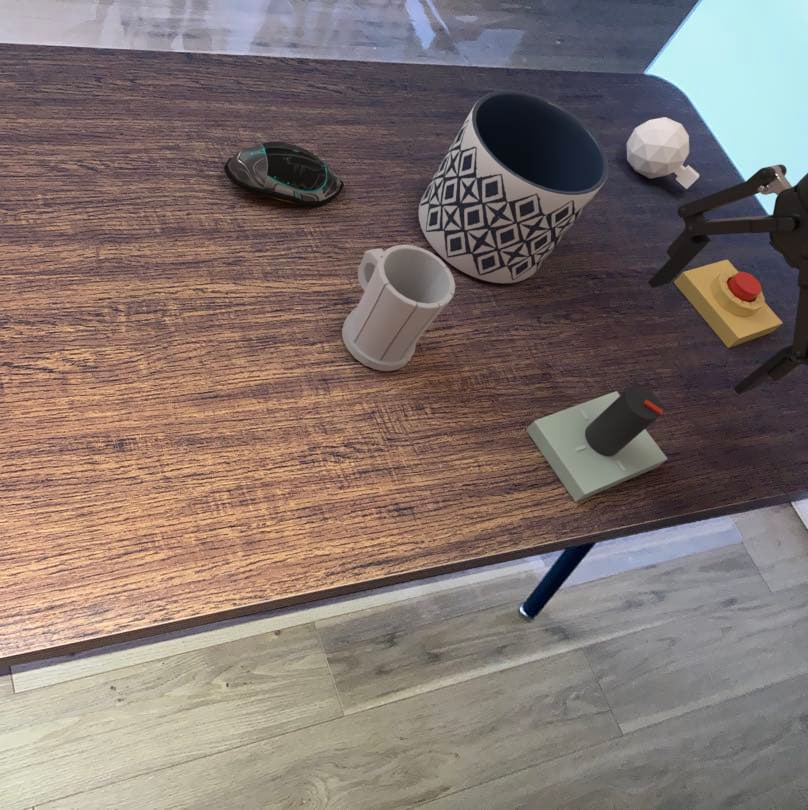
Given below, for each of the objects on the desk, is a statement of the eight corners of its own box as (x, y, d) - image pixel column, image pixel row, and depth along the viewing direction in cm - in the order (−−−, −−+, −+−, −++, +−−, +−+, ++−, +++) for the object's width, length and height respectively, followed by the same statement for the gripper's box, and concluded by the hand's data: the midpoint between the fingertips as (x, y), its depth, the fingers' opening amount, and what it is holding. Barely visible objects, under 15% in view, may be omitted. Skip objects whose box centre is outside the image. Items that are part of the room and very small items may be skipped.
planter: (389, 208, 120) (442, 108, 107) (475, 171, 129) (533, 76, 116) (482, 305, 114) (549, 213, 101) (565, 259, 124) (636, 170, 111)
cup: (316, 342, 104) (353, 273, 94) (343, 292, 109) (380, 223, 99) (398, 386, 103) (442, 321, 94) (421, 334, 109) (465, 268, 99)
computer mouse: (351, 212, 117) (367, 179, 113) (226, 208, 111) (238, 173, 107) (333, 164, 122) (348, 131, 117) (213, 158, 116) (223, 123, 111)
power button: (758, 299, 125) (767, 291, 124) (740, 304, 123) (749, 296, 122) (739, 277, 127) (748, 269, 125) (721, 282, 125) (730, 274, 124)
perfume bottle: (608, 156, 138) (668, 209, 137) (655, 107, 132) (718, 162, 131) (616, 146, 145) (672, 197, 144) (661, 100, 139) (720, 152, 138)
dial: (579, 441, 104) (622, 401, 97) (591, 416, 106) (633, 376, 100) (612, 463, 103) (657, 425, 96) (623, 438, 106) (668, 399, 99)
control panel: (607, 399, 111) (617, 389, 110) (657, 467, 108) (668, 458, 106) (525, 429, 105) (534, 419, 103) (575, 502, 101) (586, 493, 99)
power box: (771, 332, 128) (792, 315, 125) (728, 348, 123) (748, 330, 120) (717, 269, 133) (735, 250, 129) (673, 282, 128) (691, 263, 125)
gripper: (742, 79, 77) (601, 248, 94) (960, 302, 67) (759, 446, 84) (794, 72, 81) (649, 236, 97) (1009, 284, 71) (806, 425, 88)
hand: (699, 334), depth 91 cm, fingers open, 13 cm apart
